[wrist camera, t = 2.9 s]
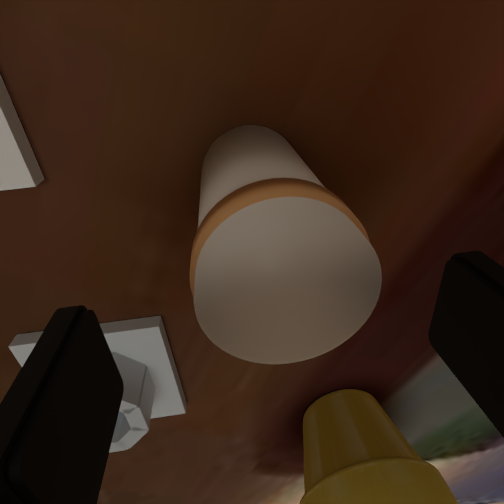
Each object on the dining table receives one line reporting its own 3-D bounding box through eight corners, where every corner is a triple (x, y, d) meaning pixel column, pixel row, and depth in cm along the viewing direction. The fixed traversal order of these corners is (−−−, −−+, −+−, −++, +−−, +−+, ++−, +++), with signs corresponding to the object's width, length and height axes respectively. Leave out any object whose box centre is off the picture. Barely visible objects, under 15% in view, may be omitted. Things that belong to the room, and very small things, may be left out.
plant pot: (319, 360, 25) (372, 511, 17) (421, 385, 29) (508, 524, 20) (260, 436, 30) (280, 585, 22) (354, 451, 33) (403, 587, 25)
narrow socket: (160, 315, 22) (151, 365, 18) (186, 401, 26) (182, 454, 23) (16, 334, 21) (-21, 389, 18) (69, 418, 26) (48, 474, 22)
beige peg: (300, 116, 16) (401, 194, 8) (300, 216, 19) (375, 354, 10) (190, 127, 16) (167, 221, 7) (206, 227, 19) (204, 378, 10)
